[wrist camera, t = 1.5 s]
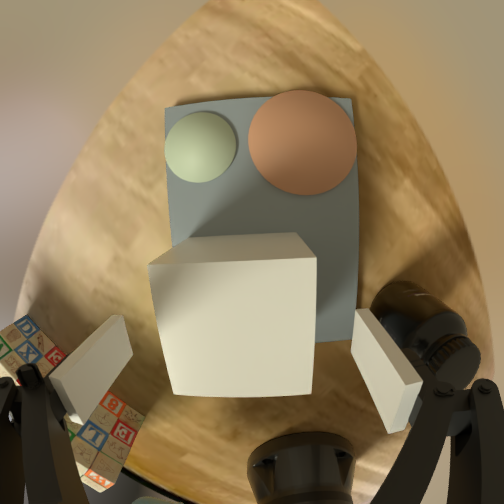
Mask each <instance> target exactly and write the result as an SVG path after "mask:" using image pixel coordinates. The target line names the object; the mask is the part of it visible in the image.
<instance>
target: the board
mask: <svg viewBox="0 0 504 504" xmlns="http://www.w3.org/2000/svg"><path fill="white" fill-rule="evenodd" d="M164 152H165V158H166V172H167V189H168V204H169V216H170V228H171V238H172V247H174V246H176V245H178V244H179V243H181V242H182V241H184V240H185V239H187V238H189V237H207V236H225V235H244V234H265V233H287V232H296V233H297V234H298V235H299V236H300V237H301V239H302V240H303V241H304V242H305V244H306V245H307V246H308V247H309V249H310V250H311V251H312V252H313V254H314V255H315V256H316V257H317V278H316V322H315V343H320V342H331V341H341V340H350V339H352V337H353V328H354V318H355V310H356V299H357V284H358V263H359V187H358V166H357V139H356V133H355V128H354V119H353V110H352V102H351V99H349V98H334V97H326V96H324V95H321V94H319V93H316V92H312V91H306V90H292V91H287V92H283V93H280V94H278V95H276V96H274V97H255V98H240V99H228V100H218V101H209V102H201V103H194V104H187V105H180V106H174V107H168V108H165V149H164Z"/></svg>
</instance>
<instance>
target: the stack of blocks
mask: <svg viewBox="0 0 504 504" xmlns="http://www.w3.org/2000/svg"><path fill="white" fill-rule="evenodd" d="M65 356H66V355H65V354H64V353H63V352H62V351H61V350H60V349H59V348H58V347H56V346H55V344H54V343H53V342H52V341H51V340H50V339H49V338H48V337H47V336H46V335H45V334H44V333H43V332H42V331H41V330H40V329H39V328H38V327H37V326H36V324H35V323H34V322H33V321H32V320H31V319H30V318H29V317H28V316H27V315H25V316H24V317H22V318H21V319H19V320H17V321H16V322H14V323H13V324H11V325H9V326H8V327H6V328H5V329H3V330H2V331H0V378H2V377H6V376H8V377H11V378H13V380H14V382H15V384H16V385H19V386H22V385H21V383H20V381H19V379H18V377H17V375H16V373H15V372H16V370H17V369H18V368H19V367H20V366H22V365H24V364H27V363H35V364H36V365H38V368H39V370H40V372H41V374H42V377H43V378H44V377H45V376H46V375H47V374H48V373H49V372H50V371H51V370H52V369H53V368H54V367H55V366H56V365H57V364H58V363H59V362H61V360H62V359H63V358H64V357H65ZM144 418H145V417H144V416H143V415H141V414H140V413H138V412H137V411H135V410H134V409H132V408H131V407H130V406H128V405H127V404H126V403H125V402H123V401H122V400H120V399H119V398H118V397H116V396H115V395H114V394H112V393H111V392H110V391H107V392H106V394H105V395H104V397H103V398H102V399H101V401H100V402H99V404H98V405H97V407H96V408H95V410H94V411H93V413H92V414H91V415H90V417H89V418H88V420H87V421H86V423H85V424H84V425H81V424H78V423H75V422H72V421H71V419H70V417H69V415H68V414H67V413H66V415H65V416H64V419H65V420H66V422H67V427H68V432H69V437H70V441H71V446H72V450H73V454H74V457H75V461H76V465H77V468H78V472H79V475H80V478H81V481H82V482H84V483H85V484H87V485H89V486H90V487H92V488H93V489H95V490H97V491H99V492H102V491H104V490H106V489H107V488H109V487H111V486H112V485H114V484H115V482H116V480H117V477H118V475H119V473H120V471H121V468H122V466H123V465H124V463H125V460H126V459H127V456H128V454H129V452H130V449H131V447H132V444H133V442H134V440H135V438H136V435H137V433H138V431H139V429H140V427H141V425H142V423H143V421H144Z"/></svg>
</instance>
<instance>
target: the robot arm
mask: <svg viewBox="0 0 504 504" xmlns="http://www.w3.org/2000/svg"><path fill="white" fill-rule="evenodd" d="M351 354H352V356H353V358H354V360H355V362H356V364H357V366H358V368H359V370H360V372H361V375H362V377H363V379H364V381H365V383H366V385H367V387H368V390H369V392H370V394H371V396H372V398H373V401H374V403H375V405H376V407H377V410H378V412H379V414H380V416H381V419H382V421H383V423H384V426H385V428H386V430H387V432H388V434H390V433H394V432H398V431H402V430H404V429H405V427H406V425H407V423H408V421H409V422H410V424H411V426H412V428H411V430H410V432H409V434H408V436H407V438H406V440H405V443H404V445H403V447H402V449H401V451H400V453H399V455H398V457H397V459H396V461H395V463H394V464H393V466H392V468H391V470H390V472H389V473H388V475H387V477H386V479H385V480H384V482H383V484H382V485H381V487H380V489H379V490H378V492H377V493H376V495H375V497H374V498H373V500H372V501H371V503H370V504H420V503H421V501H422V499H423V496H424V494H425V492H426V490H427V487H428V485H429V483H430V480H431V478H432V476H433V473H434V470H435V468H436V465H437V462H438V460H439V457H440V454H441V451H442V448H443V445H444V442H445V439H446V436H451V454H450V455H451V457H450V477H449V487H448V488H449V489H448V497H447V504H504V409H503V405H502V401H501V397H500V394H499V390H498V387H497V385H496V384H495V383H494V382H493V381H491V380H489V379H478V380H476V381H475V382H474V383H473V385H472V387H471V389H467V390H456V389H455V387H454V386H453V385H451V384H450V383H447V382H443V381H438V380H437V379H436V377H435V376H434V375H433V373H432V372H431V371H430V370H429V368H428V367H427V366H426V365H425V363H424V362H423V361H422V360H421V358H420V357H419V356H418V355H417V353H416V352H414V351H412V350H411V349H409V348H405V349H399V347H398V346H397V345H396V343H395V342H394V341H393V339H392V338H391V337H390V336H389V334H388V333H387V332H386V330H385V329H384V328H383V326H382V325H381V324H380V323H379V321H378V320H377V319H376V317H375V316H374V315H373V314H372V312H371V311H370V310H369V309H368V308H366V309H356V310H355V318H354V328H353V337H352V345H351ZM132 356H133V352H132V348H131V345H130V341H129V337H128V333H127V330H126V326H125V322H124V317H123V315H111V316H110V317H109V318H108V319H107V320H106V321H105V322H104V323H103V324H102V325H101V326H100V327H99V328H98V329H96V330H95V331H94V332H93V333H92V334H91V335H90V336H89V337H88V338H87V339H86V340H85V341H84V342H83V343H82V344H81V345H80V346H79V347H78V348H77V349H76V350H75V351H73V352H71V353H70V354H68V355H66V356H65V357H64V358H63V359H62V360H61V362H59V363H58V364H57V365H56V366H55V367H54V368H53V369H52V370H51V371H50V372H49V373H48V374H47V375H46V376H45V377H44V378H43V377H42V374H41V372H40V370H39V368H38V365H36V364H35V363H27V364H24V365H22V366H20V367H19V368H18V369H17V370H16V372H15V373H16V375H17V377H18V379H19V381H20V383H21V385H22V386H19V385H16V384H15V382H14V380H13V378H11V377H8V376H6V377H2V378H0V504H23V503H24V490H25V483H26V489H27V495H28V501H29V504H89V501H88V499H87V496H86V493H85V490H84V487H83V484H82V481H81V478H80V475H79V472H78V468H77V465H76V461H75V457H74V454H73V450H72V446H71V441H70V437H69V432H68V427H67V422H66V420H65V419H64V416H65V415H66V413H67V414H68V415H69V417H70V419H71V421H72V422H75V423H78V424H81V425H84V424H85V423H86V421H87V420H88V418H89V417H90V415H91V414H92V413H93V411H94V410H95V408H96V407H97V405H98V404H99V402H100V401H101V399H102V398H103V397H104V395H105V394H106V392H107V391H108V389H109V388H110V386H111V385H112V384H113V382H114V381H115V379H116V378H117V377H118V375H119V374H120V372H121V371H122V369H123V368H124V367H125V365H126V364H127V362H128V361H129V360H130V358H131V357H132ZM9 414H10V416H11V417H12V421H11V422H10V420H9ZM355 463H356V460H355V455H354V451H353V448H352V445H351V444H350V442H349V441H347V440H346V439H345V438H343V437H341V436H338V435H335V434H330V433H322V432H307V433H298V434H292V435H287V436H283V437H280V438H277V439H274V440H271V441H269V442H267V443H265V444H263V445H261V446H260V447H258V448H257V449H256V450H254V451H253V452H252V454H251V455H250V457H249V459H248V465H247V477H248V480H249V483H250V485H251V488H252V490H253V493H254V496H255V498H256V501H257V503H258V504H353V501H352V497H351V490H352V484H353V477H354V471H355ZM132 504H183V503H181V502H177V503H175V502H171V501H166V500H162V499H158V498H154V497H148V496H147V497H141V498H139V499H137V500H135V501H134V502H133V503H132Z"/></svg>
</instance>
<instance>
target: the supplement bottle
mask: <svg viewBox="0 0 504 504" xmlns="http://www.w3.org/2000/svg"><path fill="white" fill-rule="evenodd" d="M370 311H371V312H372V314H373V315H374V316H375V317H376V319H377V320H378V321H379V323H380V324H381V325H382V326H383V328H384V329H385V330H386V332H387V333H388V334H389V336H390V337H391V338H392V339H393V341H394V342H395V343H396V345H397V346H398V347H399V349H405V348H409V349H411V350H412V351H414V352H416V353H417V355H418V356H419V357H420V358H421V360H422V361H423V362H424V363H425V365H426V366H427V367H428V368H429V370H430V371H431V372H432V373H433V375H434V376H435V377H436V379H437V380H438V381H443V382H447V383H450V384H451V385H453V386H454V387H455V389H456V390H463V389H464V388H466V387H467V385H468V384H469V383H470V382H471V380H472V379H473V378H474V376H475V374H476V373H477V370H478V368H479V365H480V360H481V357H480V355H481V353H480V350H479V349H478V348H477V346H476V345H475V344H473V343H472V342H471V340H470V339H469V338H468V337H467V328H466V325H465V322H464V320H463V319H462V317H461V316H460V315H459V314H458V313H456V312H455V311H454V310H452V309H451V308H450V307H448V306H447V305H446V304H444V303H443V302H441V301H440V300H439V299H437V298H436V297H434V296H433V295H432V294H430V293H429V292H427V291H426V290H425V289H423V288H422V287H420V286H419V285H417V284H415V283H413V282H411V281H397V282H394V283H392V284H390V285H388V286H386V287H385V288H384V289H382V290H381V291H380V292H379V293H378V295H377V296H376V297H375V299H374V301H373V302H372V305H371V307H370Z"/></svg>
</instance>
